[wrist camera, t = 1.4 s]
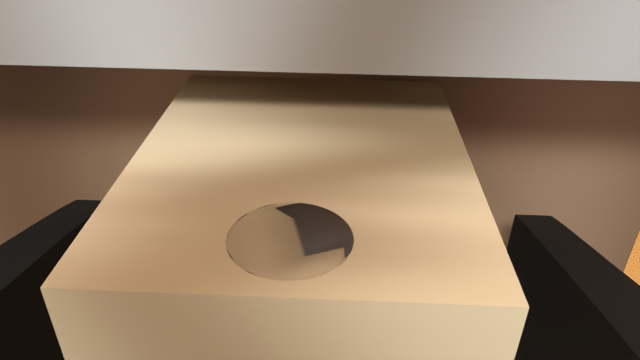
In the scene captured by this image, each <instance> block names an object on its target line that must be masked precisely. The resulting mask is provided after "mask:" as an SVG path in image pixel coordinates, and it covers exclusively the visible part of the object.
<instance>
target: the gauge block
mask: <svg viewBox="0 0 640 360" xmlns="http://www.w3.org/2000/svg"><path fill="white" fill-rule="evenodd" d="M40 289H41V292H42V295H43V298H44V301H45V304H46V307H47V310H48V312H49V315H50V318H51V321H52V324H53V327H54V330H55V333H56V336H57V339H58V342H59V345H60V347H61V350H62V353H63V356H64V359H65V360H514V359H515V355H516V352H517V348H518V345H519V341H520V338H521V335H522V331H523V328H524V324H525V321H526V317H527V314H528V310H529V305H528V303H527V300H526V298H525V295H524V293H523V290H522V288H521V285H520V283H519V280H518V278H517V275H516V273H515V270H514V268H513V265H512V263H511V260H510V258H509V255H508V253H507V250H506V248H505V245H504V243H503V240H502V238H501V235H500V233H499V230H498V228H497V225H496V223H495V220H494V218H493V215H492V212H491V210H490V207H489V205H488V202H487V200H486V197H485V195H484V192H483V190H482V187H481V185H480V182H479V180H478V177H477V175H476V172H475V170H474V167H473V165H472V162H471V160H470V157H469V155H468V152H467V150H466V147H465V145H464V142H463V140H462V137H461V135H460V132H459V130H458V127H457V125H456V122H455V120H454V117H453V115H452V112H451V110H450V107H449V105H448V102H447V100H446V97H445V95H444V92H443V90H442V87H441V85H440V82H422V81H385V80H348V79H310V78H273V77H235V76H198V75H191V76H190V77H189V78H188V80H187V81H186V83H185V84H184V86H183V87H182V88H181V90H180V91H179V93H178V94H177V95H176V97H175V98H174V100H173V101H172V102H171V104H170V105H169V107H168V108H167V110H166V111H165V112H164V114H163V115H162V117H161V118H160V119H159V121H158V122H157V124H156V125H155V126H154V128H153V129H152V131H151V132H150V133H149V135H148V136H147V138H146V139H145V141H144V142H143V143H142V145H141V146H140V148H139V149H138V150H137V152H136V153H135V155H134V156H133V157H132V159H131V160H130V162H129V163H128V165H127V166H126V167H125V169H124V170H123V172H122V173H121V174H120V176H119V177H118V179H117V180H116V181H115V183H114V184H113V186H112V187H111V189H110V190H109V191H108V193H107V194H106V196H105V197H104V198H103V200H102V201H101V203H100V204H99V205H98V207H97V208H96V210H95V211H94V212H93V214H92V215H91V217H90V218H89V220H88V221H87V222H86V224H85V225H84V227H83V228H82V229H81V231H80V232H79V234H78V235H77V236H76V238H75V239H74V241H73V242H72V244H71V245H70V246H69V248H68V249H67V251H66V252H65V253H64V255H63V256H62V258H61V259H60V260H59V262H58V263H57V265H56V266H55V267H54V269H53V270H52V272H51V273H50V275H49V276H48V277H47V279H46V280H45V282H44V283H43V284H42V286H41V287H40Z"/></svg>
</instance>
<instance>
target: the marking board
mask: <svg viewBox="0 0 640 360" xmlns="http://www.w3.org/2000/svg"><path fill="white" fill-rule="evenodd" d="M191 75H198V76H235V77H273V78H310V79H348V80H385V81H422V82H440V85H441V87H442V90H443V92H444V95H445V97H446V100H447V102H448V105H449V107H450V110H451V112H452V115H453V117H454V120H455V122H456V125H457V127H458V130H459V132H460V135H461V137H462V140H463V142H464V145H465V147H466V150H467V152H468V155H469V157H470V160H471V162H472V165H473V167H474V170H475V172H476V175H477V177H478V180H479V182H480V185H481V187H482V190H483V192H484V195H485V197H486V200H487V202H488V205H489V207H490V210H491V212H492V215H493V218H494V220H495V223H496V225H497V228H498V230H499V233H500V235H501V238H502V240H503V243H504V245H505V248H506V250H507V246H508V242H509V237H510V233H511V229H512V225H513V221H514V217H515V214H517V215H547V216H552V217H554V218H555V219H557V220H558V221H559V222H561V223H562V224H563V225H565V226H566V227H567V228H569V229H570V230H571V231H572V232H574V233H575V234H576V235H577V236H579V237H580V238H581V239H582V240H584V241H585V242H586V243H587V244H589V245H590V246H591V247H592V248H593V249H595V250H596V251H597V252H598V253H600V254H601V255H602V256H603V257H605V258H606V259H607V260H608V261H609V262H611V263H612V264H613V265H614V266H616V267H617V268H618V269H619V270H621V271H622V272H623V271H624V269H625V266H626V264H627V261H628V258H629V256H630V253H631V251H632V248H633V246H634V243H635V241H636V238H637V236H638V233H639V231H640V0H0V245H1V244H3V243H4V242H6V241H8V240H9V239H11V238H12V237H14V236H16V235H17V234H19V233H20V232H22V231H24V230H25V229H27V228H28V227H30V226H32V225H33V224H35V223H36V222H38V221H40V220H41V219H43V218H45V217H46V216H48V215H50V214H51V213H53V212H55V211H56V210H58V209H60V208H62V207H63V206H65V205H67V204H69V203H71V202H73V201H75V200H103V198H104V197H105V196H106V194H107V193H108V191H109V190H110V189H111V187H112V186H113V184H114V183H115V181H116V180H117V179H118V177H119V176H120V174H121V173H122V172H123V170H124V169H125V167H126V166H127V165H128V163H129V162H130V160H131V159H132V157H133V156H134V155H135V153H136V152H137V150H138V149H139V148H140V146H141V145H142V143H143V142H144V141H145V139H146V138H147V136H148V135H149V133H150V132H151V131H152V129H153V128H154V126H155V125H156V124H157V122H158V121H159V119H160V118H161V117H162V115H163V114H164V112H165V111H166V110H167V108H168V107H169V105H170V104H171V102H172V101H173V100H174V98H175V97H176V95H177V94H178V93H179V91H180V90H181V88H182V87H183V86H184V84H185V83H186V81H187V80H188V78H189V77H190V76H191Z"/></svg>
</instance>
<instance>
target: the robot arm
mask: <svg viewBox="0 0 640 360" xmlns="http://www.w3.org/2000/svg"><path fill="white" fill-rule="evenodd" d="M101 201H102V200H75V201H73V202H71V203H69V204H67V205H65V206H63V207H62V208H60V209H58V210H56V211H55V212H53V213H51V214H50V215H48V216H46V217H45V218H43V219H41V220H40V221H38V222H36V223H35V224H33V225H32V226H30V227H28V228H27V229H25V230H24V231H22V232H20V233H19V234H17V235H16V236H14V237H12V238H11V239H9V240H8V241H6V242H4V243H3V244H1V245H0V360H65V359H64V356H63V353H62V350H61V347H60V345H59V342H58V339H57V336H56V333H55V330H54V327H53V324H52V321H51V318H50V315H49V312H48V310H47V307H46V304H45V301H44V298H43V295H42V292H41V289H40V287H41V286H42V284H43V283H44V282H45V280H46V279H47V277H48V276H49V275H50V273H51V272H52V270H53V269H54V267H55V266H56V265H57V263H58V262H59V260H60V259H61V258H62V256H63V255H64V253H65V252H66V251H67V249H68V248H69V246H70V245H71V244H72V242H73V241H74V239H75V238H76V236H77V235H78V234H79V232H80V231H81V229H82V228H83V227H84V225H85V224H86V222H87V221H88V220H89V218H90V217H91V215H92V214H93V212H94V211H95V210H96V208H97V207H98V205H99V204H100V203H101ZM507 253H508V255H509V258H510V260H511V263H512V265H513V268H514V270H515V273H516V275H517V278H518V280H519V283H520V285H521V288H522V290H523V293H524V295H525V298H526V300H527V303H528V305H529V310H528V314H527V317H526V321H525V324H524V328H523V331H522V335H521V338H520V341H519V345H518V348H517V352H516V355H515V359H514V360H640V286H639V285H638V284H637V283H636V282H634V281H633V280H632V279H631V278H629V277H628V276H627V275H626V274H624V273H623V272H622V271H621V270H619V269H618V268H617V267H616V266H614V265H613V264H612V263H611V262H609V261H608V260H607V259H606V258H605V257H603V256H602V255H601V254H600V253H598V252H597V251H596V250H595V249H593V248H592V247H591V246H590V245H589V244H587V243H586V242H585V241H584V240H582V239H581V238H580V237H579V236H577V235H576V234H575V233H574V232H572V231H571V230H570V229H569V228H567V227H566V226H565V225H563V224H562V223H561V222H559V221H558V220H557V219H555V218H554V217H552V216H547V215H517V214H515V217H514V221H513V225H512V229H511V233H510V237H509V242H508V246H507Z"/></svg>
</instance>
